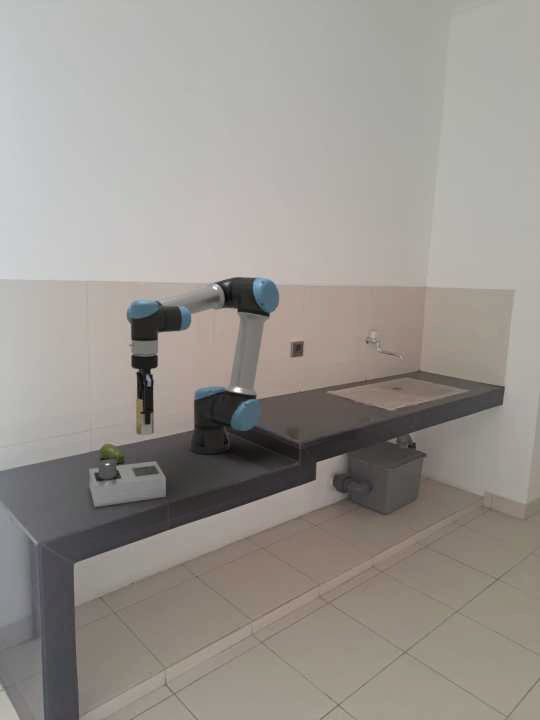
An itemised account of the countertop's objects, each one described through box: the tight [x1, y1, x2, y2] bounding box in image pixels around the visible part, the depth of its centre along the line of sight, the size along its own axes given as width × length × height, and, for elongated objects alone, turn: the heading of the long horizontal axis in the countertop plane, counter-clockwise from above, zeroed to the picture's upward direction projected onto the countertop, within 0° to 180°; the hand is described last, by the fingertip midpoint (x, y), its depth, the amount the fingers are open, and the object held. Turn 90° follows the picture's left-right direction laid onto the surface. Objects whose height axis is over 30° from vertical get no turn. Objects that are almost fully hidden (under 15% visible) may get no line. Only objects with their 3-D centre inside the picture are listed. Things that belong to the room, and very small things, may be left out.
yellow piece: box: [135, 398, 155, 436], centre depth 155 cm, size 5×5×10 cm
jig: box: [88, 459, 167, 508], centre depth 156 cm, size 20×14×10 cm
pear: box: [99, 443, 125, 465], centre depth 182 cm, size 6×5×10 cm
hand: (145, 431), depth 156 cm, fingers closed on yellow piece, 5 cm apart
